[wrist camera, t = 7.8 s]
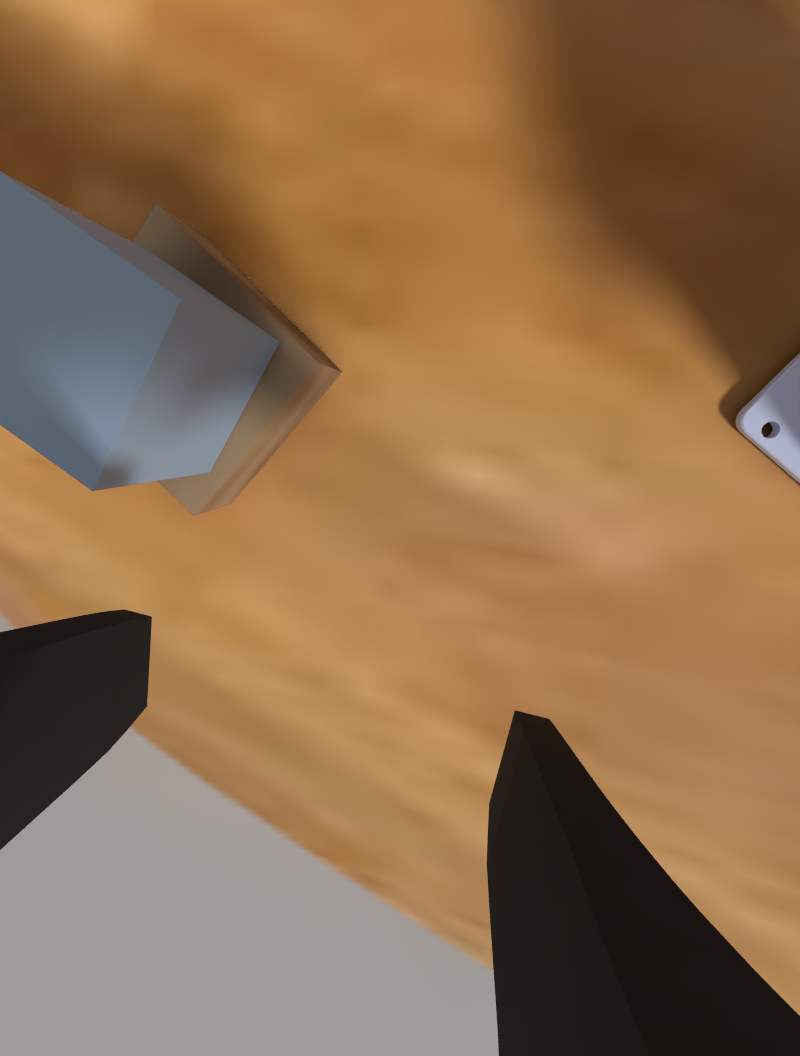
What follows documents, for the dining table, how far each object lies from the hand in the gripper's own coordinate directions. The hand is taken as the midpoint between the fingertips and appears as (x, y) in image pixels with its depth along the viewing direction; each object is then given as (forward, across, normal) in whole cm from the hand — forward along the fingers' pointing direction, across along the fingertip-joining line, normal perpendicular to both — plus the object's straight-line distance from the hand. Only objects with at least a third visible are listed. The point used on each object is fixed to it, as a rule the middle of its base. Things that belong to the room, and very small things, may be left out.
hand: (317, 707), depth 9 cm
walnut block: (+10, +8, -6) cm, 14 cm away
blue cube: (+7, +8, -6) cm, 12 cm away
